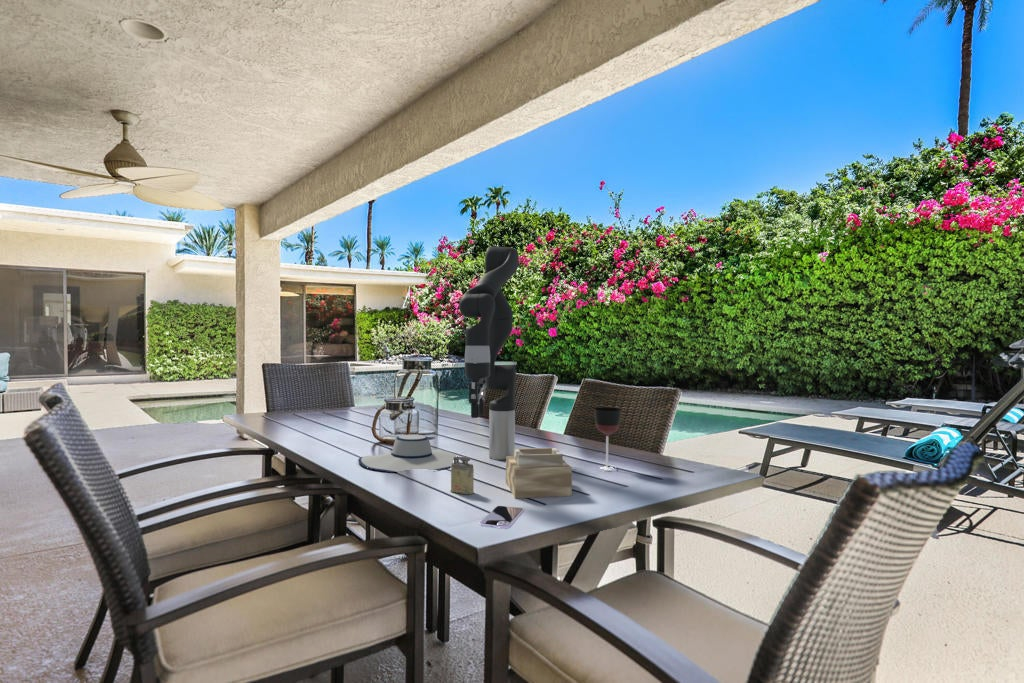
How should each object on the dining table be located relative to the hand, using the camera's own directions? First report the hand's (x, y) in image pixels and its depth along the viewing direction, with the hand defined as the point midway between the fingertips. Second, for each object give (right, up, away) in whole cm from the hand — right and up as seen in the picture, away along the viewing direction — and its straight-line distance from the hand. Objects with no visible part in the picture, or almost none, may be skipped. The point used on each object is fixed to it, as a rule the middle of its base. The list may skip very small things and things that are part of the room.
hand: (477, 416), depth 173 cm
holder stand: (+18, -21, -3) cm, 27 cm away
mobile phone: (+8, -22, -28) cm, 36 cm away
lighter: (-4, -21, -7) cm, 23 cm away
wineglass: (+42, -21, +22) cm, 51 cm away
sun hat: (-25, -21, +32) cm, 46 cm away
